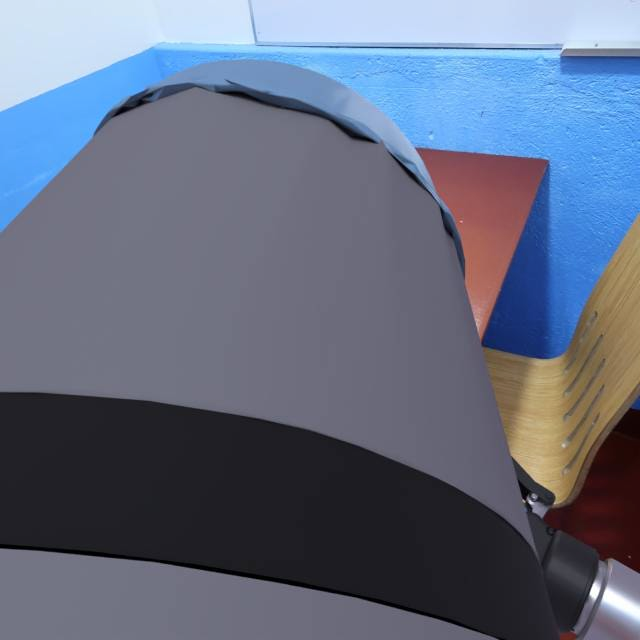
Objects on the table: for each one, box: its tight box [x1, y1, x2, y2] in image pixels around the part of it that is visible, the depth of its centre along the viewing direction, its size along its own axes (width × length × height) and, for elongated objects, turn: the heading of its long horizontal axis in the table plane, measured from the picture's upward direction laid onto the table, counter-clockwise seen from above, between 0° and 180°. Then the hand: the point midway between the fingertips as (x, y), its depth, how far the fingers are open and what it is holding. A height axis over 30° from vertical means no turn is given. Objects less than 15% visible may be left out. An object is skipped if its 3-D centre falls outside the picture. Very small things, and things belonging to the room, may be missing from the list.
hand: (374, 468), depth 51 cm, fingers open, 13 cm apart
